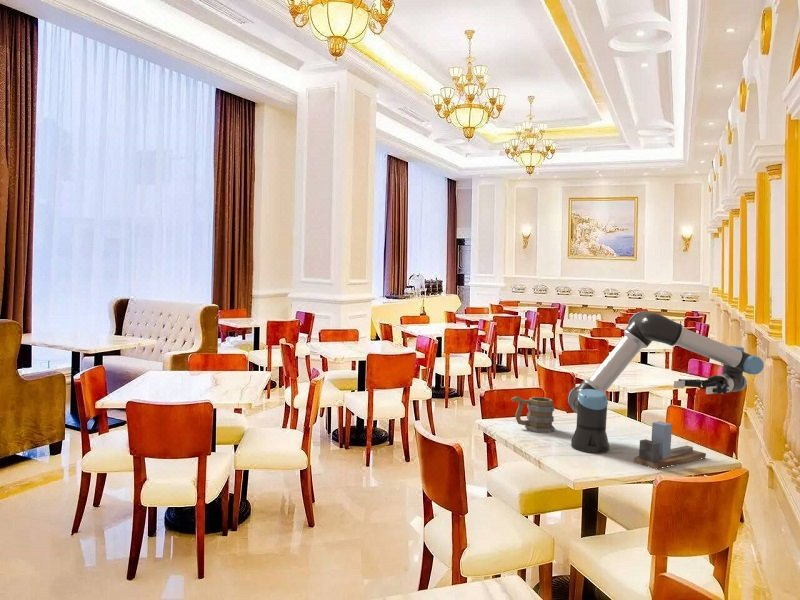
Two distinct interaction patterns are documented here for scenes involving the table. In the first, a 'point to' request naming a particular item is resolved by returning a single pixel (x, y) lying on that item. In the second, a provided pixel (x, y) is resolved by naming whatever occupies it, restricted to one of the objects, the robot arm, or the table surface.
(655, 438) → the sleeve
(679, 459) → the rail board
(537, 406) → the tankard
